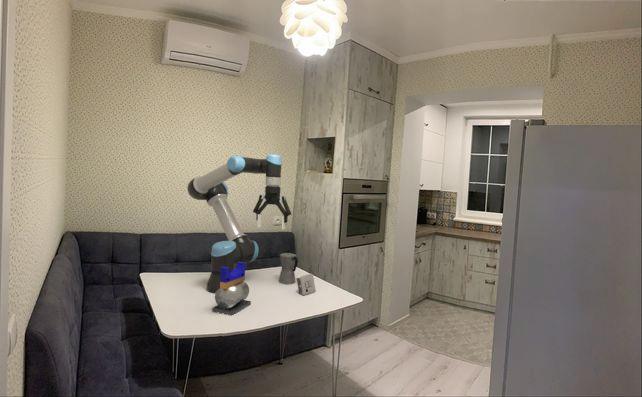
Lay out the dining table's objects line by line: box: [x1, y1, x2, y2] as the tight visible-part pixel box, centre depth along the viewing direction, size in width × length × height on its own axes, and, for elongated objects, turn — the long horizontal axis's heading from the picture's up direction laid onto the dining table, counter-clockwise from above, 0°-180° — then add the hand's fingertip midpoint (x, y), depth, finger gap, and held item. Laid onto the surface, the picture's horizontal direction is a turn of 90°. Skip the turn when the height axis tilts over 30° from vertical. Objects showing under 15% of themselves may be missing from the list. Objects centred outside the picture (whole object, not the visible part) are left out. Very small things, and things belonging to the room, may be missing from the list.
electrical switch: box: [296, 273, 316, 296], centre depth 169 cm, size 9×5×9 cm, turn 141°
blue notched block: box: [220, 262, 246, 283], centre depth 143 cm, size 12×4×6 cm, turn 153°
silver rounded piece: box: [211, 275, 252, 316], centre depth 144 cm, size 14×10×13 cm
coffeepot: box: [278, 249, 299, 285], centre depth 185 cm, size 15×9×18 cm, turn 39°
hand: (271, 228), depth 168 cm, fingers open, 13 cm apart
